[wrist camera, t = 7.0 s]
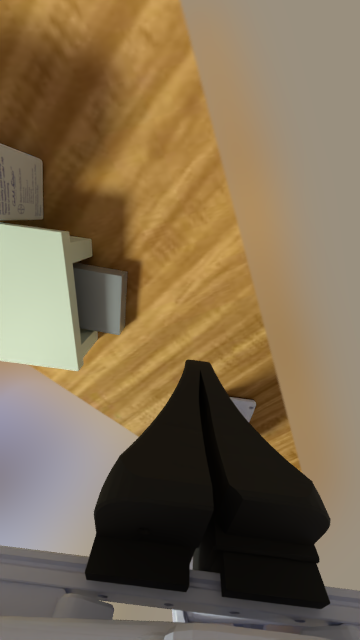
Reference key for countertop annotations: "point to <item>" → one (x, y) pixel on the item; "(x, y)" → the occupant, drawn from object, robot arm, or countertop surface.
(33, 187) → the medicine box
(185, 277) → the countertop surface
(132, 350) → the countertop surface
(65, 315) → the shelf
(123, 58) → the countertop surface
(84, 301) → the slate tile
